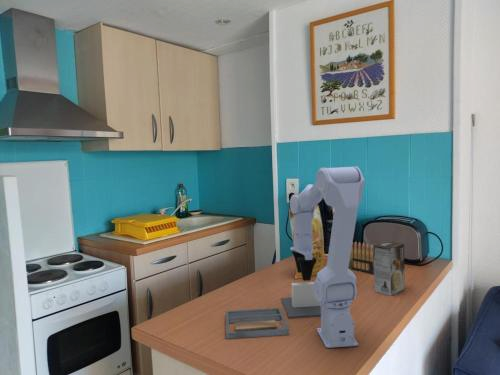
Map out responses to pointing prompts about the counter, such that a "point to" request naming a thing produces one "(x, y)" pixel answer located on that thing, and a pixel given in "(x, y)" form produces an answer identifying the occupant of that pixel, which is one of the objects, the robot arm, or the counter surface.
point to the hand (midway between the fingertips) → (303, 276)
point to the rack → (256, 316)
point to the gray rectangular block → (303, 295)
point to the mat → (300, 310)
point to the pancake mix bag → (316, 239)
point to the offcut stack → (255, 325)
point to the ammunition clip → (362, 258)
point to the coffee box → (389, 268)
